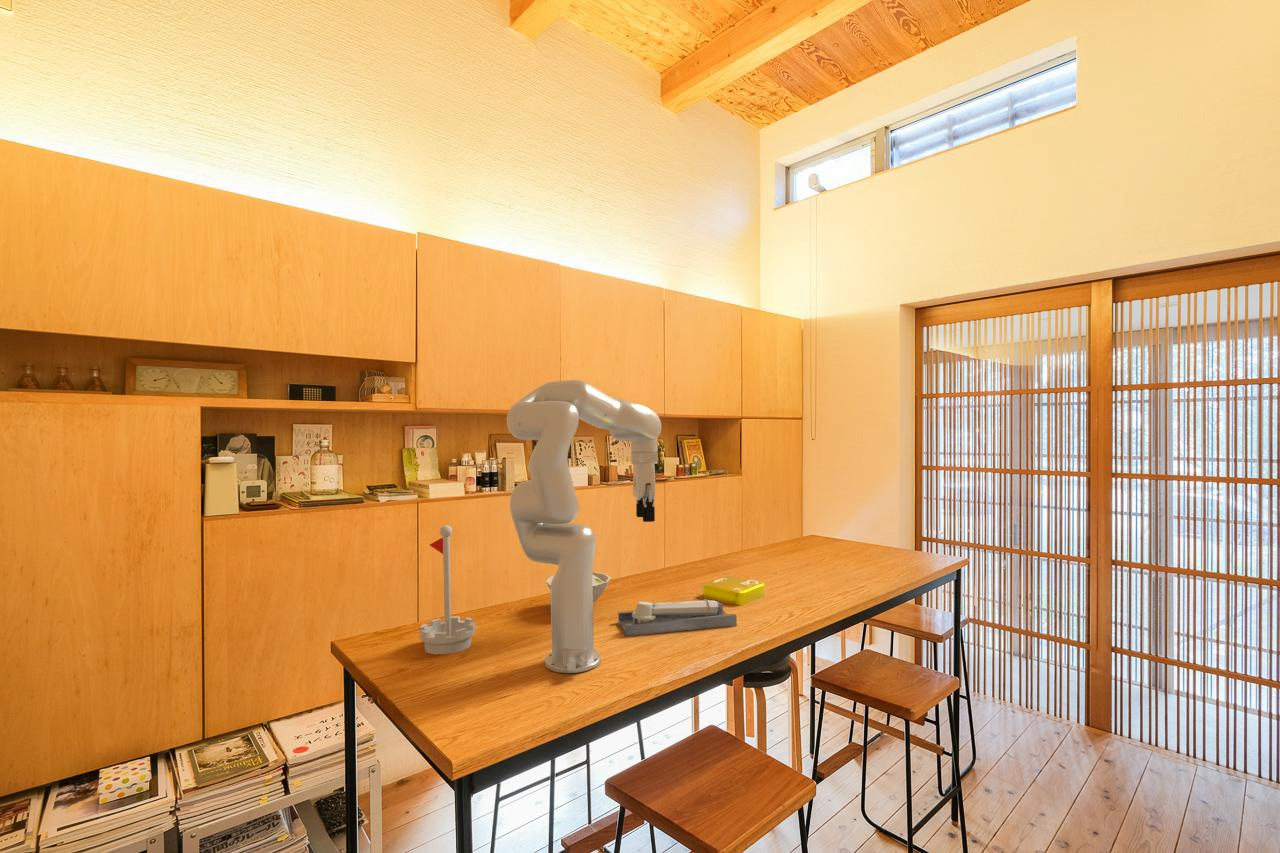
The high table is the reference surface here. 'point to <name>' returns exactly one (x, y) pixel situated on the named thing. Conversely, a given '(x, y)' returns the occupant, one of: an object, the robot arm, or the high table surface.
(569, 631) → the robot arm
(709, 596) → the element tile
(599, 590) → the bowl
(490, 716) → the high table surface
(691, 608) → the grey elongated piece
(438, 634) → the flag stand
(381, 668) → the high table surface
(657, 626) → the pipe channel
